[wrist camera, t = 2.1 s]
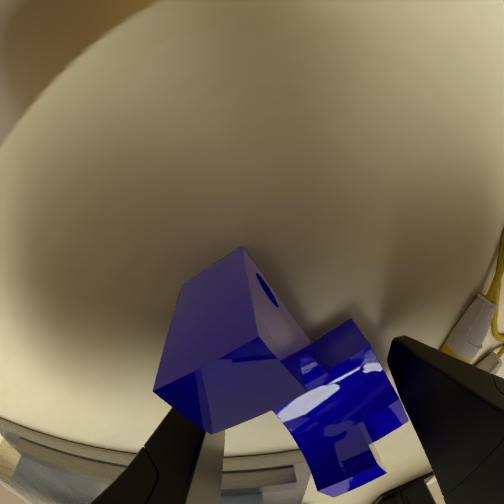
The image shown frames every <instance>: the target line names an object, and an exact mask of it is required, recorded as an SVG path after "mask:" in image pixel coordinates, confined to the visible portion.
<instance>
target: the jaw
mask: <svg viewBox="0 0 504 504" xmlns="http://www.w3.org/2000/svg"><path fill="white" fill-rule="evenodd" d="M220 504H264V503H263V495H262V493H261V494H249V495H232V496H221V497H220Z"/></svg>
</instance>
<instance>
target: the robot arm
mask: <svg viewBox="0 0 504 504" xmlns="http://www.w3.org/2000/svg"><path fill="white" fill-rule="evenodd" d="M387 363H388V366H389V369H390V371H391V374H392V377H393V379H394V382H395V385H396V388H397V390H398V393H399V396H400V398H401V401H402V403H403V405H404V408H405V410H406V412H407V414H408V416H409V418H410V420H411V422H412V424H413V427H414V429H415V431H416V433H417V435H418V437H419V440H420V442H421V444H422V446H423V449H424V451H425V453H426V455H427V458H428V460H429V462H430V465H431V467H432V470H433V472H432V473H430V474H428V475H426V476H424V477H422V478H419V479H417V480H415V481H413V482H411V483H409V484H406V485H404V486H402V487H399V488H397V489H395V490H392V491H390V492H387V493H385V494H383V495H381V496H380V497H379V498H378V499H377V500H376V501H375V502H374V503H373V504H436V502H435V500H434V498H433V496H432V494H431V492H430V490H429V489H428V486H427V484H426V483H427V482H428V481H429V480H430V479H431V478H432V477H433V476H434V475H435V477H436V479H437V482H438V484H439V486H440V489H441V492H442V495H443V496H444V500H445V503H446V504H504V379H503V378H501V377H499V376H496V375H494V374H490V373H489V372H487V371H485V370H482V369H480V368H478V367H476V366H473V365H471V364H469V363H466V362H464V361H462V360H460V359H457V358H455V357H453V356H450V355H448V354H446V353H444V352H441V351H439V350H437V349H435V348H432V347H430V346H428V345H426V344H423V343H421V342H419V341H417V340H414V339H412V338H410V337H408V336H405V335H403V336H399V337H395V338H394V339H393V340H392V343H391V346H390V350H389V353H388V357H387ZM224 443H225V430H223V431H220V432H217V433H214V434H212V435H211V434H209V433H208V432H206V431H205V430H203V429H202V428H200V427H199V426H197V425H196V424H195V423H193V422H192V421H190V420H189V419H188V418H186V417H185V416H184V415H182V414H181V413H180V412H178V411H177V410H176V409H174V408H173V407H172V408H171V410H170V411H169V412H168V414H167V415H166V416H165V418H164V419H163V420H162V422H161V423H160V425H159V426H158V427H157V429H156V430H155V431H154V433H153V434H152V435H151V437H150V438H149V439H148V441H147V442H146V443H145V445H144V447H145V448H144V447H142V448H141V450H140V451H139V452H138V454H137V455H136V456H135V457H134V459H133V460H132V461H131V462H130V464H129V465H128V466H127V467H126V468H125V470H124V471H123V472H122V473H121V474H120V475H119V476H118V477H117V478H116V479H115V480H114V481H113V482H112V483H111V484H110V485H109V486H108V487H107V488H106V489H105V490H104V491H103V492H102V493H100V494H99V495H98V496H97V497H96V498H95V499H94V500H93V501H92V502H91V503H90V504H220V497H221V483H222V469H223V456H224Z"/></svg>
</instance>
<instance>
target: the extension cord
mask: <svg viewBox="0 0 504 504" xmlns="http://www.w3.org/2000/svg"><path fill="white" fill-rule="evenodd" d="M503 272H504V230H503V235H502V240H501V246H500V252H499V257H498V264H497V272H496V274H495V277H494V279H493V281H492V284H491V286H490V288H489V290H488V293H487V295H486V296H484V295H483V294H480V293H478V294H477V298H476V299H475V300H474V301H473V302H472V303H471V305H470V306H469V307H468V309H467V310H466V311H465V313H464V314H463V315H462V317H461V318H460V320H459V321H458V323H457V324H456V326H455V327H454V328H453V329H452V331H451V333H450V335H449V336H448V338H447V340H446V341H445V343H444V344H443V346H442V348H441V349H440V351H441V352H444V353H446V354H448V355H450V356H453V357H455V358H457V359H460V360H462V361H464V362H466V363H470V362H471V361H472V359H473V358H474V356H475V355H476V353H477V352H478V350H479V349H481V348H482V342H483V341H484V338H485V336H486V334H487V332H488V329H489V326H490V324H491V321H492V333H493V335H494V338H495V339H496V340H498V341H504V336H502V335H500V334H499V333H498V330H497V317H498V301H499V294H500V286H501V277H502V275H503ZM493 295H494V296H493ZM492 297H493V301H492ZM503 353H504V345H503V347H502V348H501V350H500V351H499V352H498V354H497V355H496V354H495V353H493V352H491V353H490V355H488V356H487V357H486V358H484V359H483V360H482V361H481V362H479V363H478V364H477V365H476V367H478V368H480V369H482V370H485V371H487V372H489V373H490V374H494V375H496V373H497V372H498V370H499V368H500V367H501V366H502V361H501V360H500V357H501V356H502V355H503Z"/></svg>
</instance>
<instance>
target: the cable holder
mask: <svg viewBox="0 0 504 504" xmlns="http://www.w3.org/2000/svg"><path fill="white" fill-rule="evenodd" d="M153 392H154V393H155V394H157V395H158V396H159V397H160V398H161V399H163V400H164V401H165V402H167V403H168V404H169V405H170V406H172V407H173V408H174V409H176V410H177V411H178V412H180V413H181V414H182V415H184V416H185V417H186V418H188V419H189V420H190V421H192V422H193V423H195V424H196V425H197V426H199V427H200V428H202V429H203V430H205V431H206V432H208V433H209V434H211V435H212V434H214V433H217V432H220V431H223V430H225V429H228V428H230V427H233V426H236V425H238V424H241V423H243V422H245V421H248V420H250V419H252V418H255V417H257V416H259V415H262V414H264V413H266V412H268V411H271V410H272V411H273V412H274V413H275V414H276V415H277V416H278V417H279V419H280V420H281V421H282V422H283V424H284V425H285V426H286V428H287V429H288V431H289V432H290V433H291V435H292V436H293V438H294V440H295V441H296V443H297V445H298V446H299V448H300V450H301V452H302V454H303V456H304V458H305V460H306V462H307V464H308V466H309V469H310V471H311V474H312V476H313V479H314V482H315V485H316V488H317V491H318V492H321V493H323V494H326V495H329V496H331V497H336V496H339V495H341V494H344V493H346V492H348V491H351V490H353V489H355V488H357V487H360V486H362V485H364V484H366V483H368V482H370V481H372V480H374V479H376V478H378V477H380V476H382V475H384V474H386V473H387V472H386V470H385V468H384V466H383V463H382V461H381V459H380V457H379V455H378V452H377V450H376V448H375V446H374V444H373V442H375V441H377V440H379V439H380V438H382V437H384V436H385V435H387V434H389V433H390V432H392V431H394V430H395V429H397V428H399V427H400V426H402V425H403V424H405V423H406V422H408V421H409V420H408V418H407V415H406V413H405V411H404V408H403V406H402V404H401V401H400V399H399V397H398V395H397V394H396V392H395V390H394V388H393V386H392V385H391V383H390V381H389V379H388V377H387V376H386V374H385V372H384V370H383V368H382V367H381V365H380V363H379V361H378V359H377V357H376V355H375V353H374V352H373V350H372V348H371V346H370V344H369V343H368V341H367V340H366V338H365V337H364V335H363V334H362V333H361V331H360V330H359V328H358V327H357V326H356V324H355V323H354V321H353V320H352V319H349V320H348V321H346V322H345V323H343V324H342V325H340V326H339V327H337V328H335V329H334V330H332V331H331V332H329V333H327V334H326V335H324V336H323V337H321V338H319V339H318V340H316V341H314V342H313V343H311V341H310V340H309V338H308V337H307V336H306V334H305V333H304V331H303V330H302V329H301V327H300V326H299V325H298V323H297V322H296V320H295V319H294V318H293V316H292V315H291V313H290V312H289V311H288V309H287V308H286V307H285V305H284V304H283V302H282V301H281V300H280V298H279V297H278V295H277V294H276V293H275V291H274V290H273V288H272V287H271V286H270V284H269V283H268V281H267V280H266V279H265V277H264V276H263V274H262V273H261V272H260V270H259V269H258V267H257V266H256V265H255V263H254V262H253V261H252V259H251V258H250V256H249V255H248V254H247V252H246V251H245V249H244V248H243V247H242V246H241V247H240V248H238V249H237V250H235V251H233V252H232V253H230V254H229V255H227V256H226V257H224V258H223V259H221V260H220V261H218V262H217V263H215V264H214V265H212V266H211V267H209V268H208V269H206V270H205V271H203V272H202V273H200V274H199V275H197V276H196V277H194V278H193V279H191V280H190V281H188V282H187V283H185V284H184V285H182V288H181V291H180V294H179V298H178V301H177V304H176V307H175V311H174V314H173V318H172V321H171V324H170V328H169V331H168V335H167V339H166V342H165V346H164V349H163V353H162V357H161V361H160V364H159V368H158V372H157V376H156V380H155V384H154V388H153Z"/></svg>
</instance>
